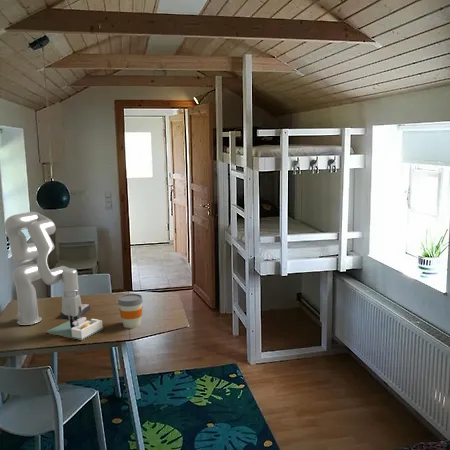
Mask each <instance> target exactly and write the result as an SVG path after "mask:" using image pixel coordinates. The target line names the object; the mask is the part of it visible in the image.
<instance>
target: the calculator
mask: <svg viewBox="0 0 450 450" xmlns="http://www.w3.org/2000/svg"><path fill="white" fill-rule="evenodd" d="M90 310H91V305H90V304H87V303H84V304H83V303H82V314H81V316H82V317H84V315H85V314H86V313H88V312H89V311H90ZM82 317H80V318H82ZM66 318H67V319H68V320H69V318H68V316H66V315H65V314H63V313H62V311H60V319H66ZM78 319H79V318H78Z"/></svg>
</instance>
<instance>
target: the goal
mask: <svg viewBox="0 0 450 450" xmlns="http://www.w3.org/2000/svg"><path fill="white" fill-rule="evenodd" d="M90 321H91V325H89V326H87V327H85V328H83V329H81V330H80V329H75V328H73V329H71V330H72V337H76V338H81V339H82V338H84V337H86V336H88V335H90V334H92V333H94V332H96V331H97V330H99V329H101V328H103V329H104V325H103V320H102V319H96V318H91V319H90Z"/></svg>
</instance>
